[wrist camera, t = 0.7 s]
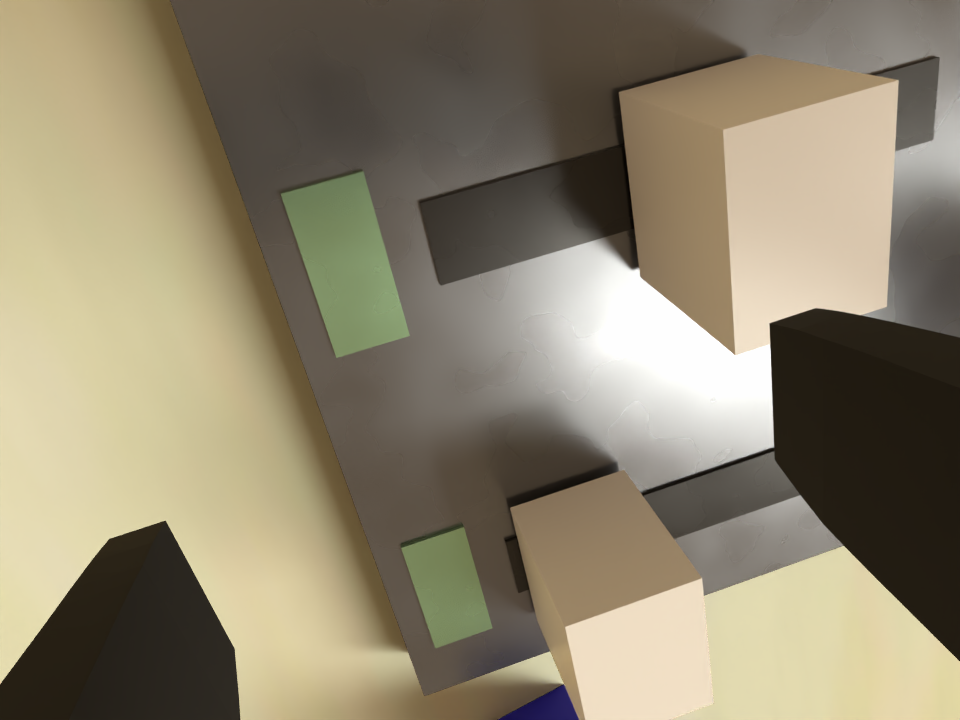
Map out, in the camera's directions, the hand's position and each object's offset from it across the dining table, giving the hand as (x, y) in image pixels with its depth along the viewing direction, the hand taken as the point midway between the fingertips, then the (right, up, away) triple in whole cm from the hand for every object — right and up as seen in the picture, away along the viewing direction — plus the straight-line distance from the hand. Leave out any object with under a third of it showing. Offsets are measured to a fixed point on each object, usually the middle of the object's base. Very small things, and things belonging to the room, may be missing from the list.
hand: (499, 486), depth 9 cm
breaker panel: (+4, +4, +10) cm, 12 cm away
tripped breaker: (+4, +6, +8) cm, 10 cm away
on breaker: (+2, -3, +11) cm, 12 cm away
